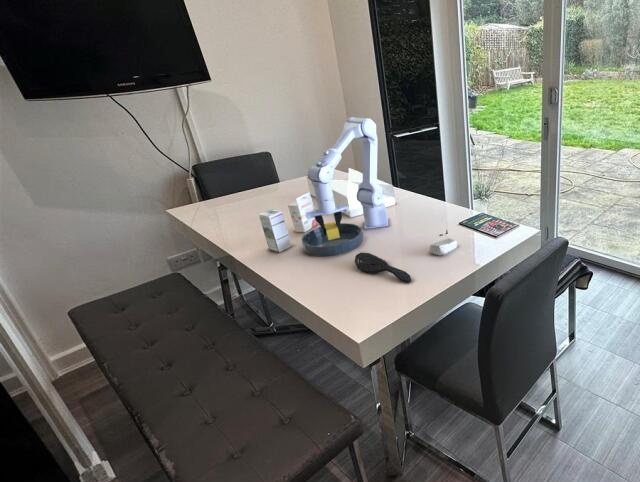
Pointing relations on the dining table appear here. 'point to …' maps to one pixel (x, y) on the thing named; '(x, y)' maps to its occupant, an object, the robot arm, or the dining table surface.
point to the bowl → (332, 241)
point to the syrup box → (275, 230)
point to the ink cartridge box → (302, 213)
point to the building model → (354, 192)
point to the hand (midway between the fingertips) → (331, 232)
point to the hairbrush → (378, 266)
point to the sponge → (331, 231)
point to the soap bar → (443, 246)
